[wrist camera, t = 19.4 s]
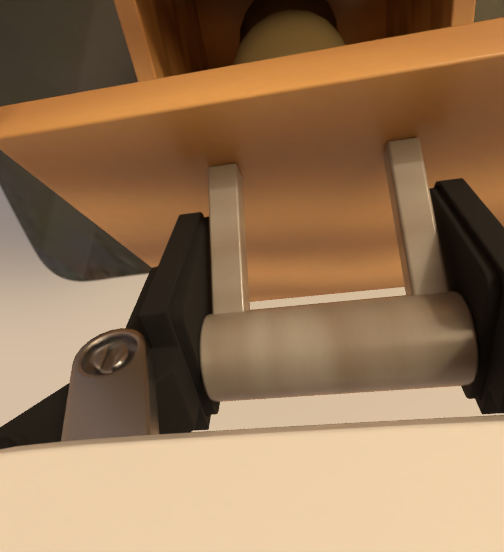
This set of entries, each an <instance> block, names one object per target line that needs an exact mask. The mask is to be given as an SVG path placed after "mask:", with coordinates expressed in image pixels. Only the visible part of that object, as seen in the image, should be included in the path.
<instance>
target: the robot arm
mask: <svg viewBox="0 0 504 552" xmlns="http://www.w3.org/2000/svg"><path fill="white" fill-rule="evenodd" d="M429 190H430V195H431V200H432V205H433V210H434V215H435V220H436V225H437V231H438V236H439V241H440V246H441V251H442V256H443V261H444V266H445V271H446V276H447V281H448V286H449V291H455V292H458V293H460V294H461V295H462V297H463V298H464V299H465V301H466V303H467V305H468V307H469V309H470V312H471V315H472V318H473V321H474V325H475V329H476V334H477V341H478V352H479V362H478V371H477V376H476V379H475V380H474V382H473V383H471V384H469V385H466V386H462V389H463V391H464V393H465V395H466V397H467V398H469V399H472V398H475V399H476V401H477V404H478V406H479V408H480V411H481V413H482V414H494V413H504V227H503V226H502V224H501V223H500V222H499V221H498V220H497V218H496V217H495V216H494V215H493V214H492V212H491V211H490V210H489V209H488V208H487V206H486V205H485V204H484V203H483V202H482V200H481V199H480V198H479V197H478V196H477V194H476V193H475V192H474V191H473V190H472V188H471V187H470V186H469V185H468V184H467V182H466V181H465V180H464V179H463V178H458V179H450V180H442V181H436V183H435V185H434V188H429ZM209 314H212V287H211V256H210V226H209V217H204V215H203V213H202V212H196V213H188V214H180V215H179V217H178V219H177V221H176V224H175V226H174V229H173V231H172V233H171V236H170V238H169V241H168V243H167V246H166V248H165V250H164V253H163V255H162V258H161V260H160V263H159V265H158V266H156V267H153V268H152V269H151V271H150V273H149V275H148V277H147V280H146V282H145V284H144V287H143V289H142V291H141V293H140V296H139V298H138V300H137V303H136V305H135V307H134V310H133V312H132V314H131V317H130V319H129V322H128V324H127V326H126V328H125V329H122V328H121V329H116V330H110V331H108V332H105V333H103V334H100V335H98V336H96V337H95V338H93V339H91V340H90V341H89V342H87V344H85V345H84V346H83V347H82V348H81V349H80V350H79V352H78V353H77V355H76V356H75V359H74V361H73V365H72V371H71V378H70V383H69V384H67V385H66V386H64V387H63V388H61V389H59V390H58V391H56V392H55V393H53V394H52V395H50V396H48V397H47V398H45V399H44V400H42V401H41V402H39V403H38V404H36V405H34V406H33V407H32V408H30V409H28V410H27V411H25V412H24V413H22V414H21V415H19V416H17V417H16V418H14V419H13V420H11V421H9V422H8V423H6V424H5V425H3V426H2V427H0V552H504V415H494V416H474V417H455V418H434V419H417V420H399V421H381V422H363V423H362V422H361V423H344V424H326V425H308V426H290V427H274V428H273V427H272V428H255V429H240V430H223V431H207V432H191V431H193V430H208V429H209V423H210V417H211V414H217V413H218V410H219V405H220V402H215V401H212V400H210V399H209V397H208V395H207V393H206V391H205V388H204V385H203V381H202V376H201V369H200V358H199V341H200V331H201V326H202V322H203V320H204V318H205V317H206V316H207V315H209Z"/></svg>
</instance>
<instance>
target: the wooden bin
mask: <svg viewBox="0 0 504 552" xmlns="http://www.w3.org/2000/svg"><path fill="white" fill-rule="evenodd" d="M113 1H114V4H115V7H116V11H117V14H118V17H119V20H120V24H121V27H122V30H123V34H124V37H125V40H126V43H127V47H128V50H129V53H130V57H131V60H132V63H133V66H134V70H135V73H136V76H137V80H138V82H141V81H147V80H152V79H158V78H164V77H169V76H175V75H181V74H186V73H192V72H198V71H203V70H209V69H215V68H220V67H226V66H231V65H233V64H234V61H235V58H236V55H237V52H238V50H239V43H240V28H241V25H242V22H243V19H244V16H245V13H246V11H247V10H248V8H249V7H250V5H251V4H252V3H253V1H254V0H113ZM326 1H327V2H328V3H329V5H330V7H331V9H332V11H333V13H334V16H335V18H336V21H337V30H338V33H339V34H340V35H341V37H342V39H343V41H344V43H345V45H350V44H356V43H361V42H367V41H373V40H378V39H384V38H389V37H395V36H401V35H406V34H412V33H418V32H423V31H429V30H435V29H440V28H446V27H451V26H457V25H463V24H468V23H473V22H474V13H475V4H476V0H326Z"/></svg>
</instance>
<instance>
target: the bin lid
mask: <svg viewBox="0 0 504 552" xmlns="http://www.w3.org/2000/svg"><path fill="white" fill-rule="evenodd" d="M0 150H1V151H3V152H4V153H5V154H6V155H8V156H9V157H10V158H12V159H13V160H14V161H15V162H17V163H18V164H19V165H21V166H22V167H23V168H24V169H26V170H27V171H28V172H30V173H31V174H32V175H33V176H35V177H36V178H37V179H39V180H40V181H41V182H42V183H44V184H45V185H46V186H48V187H49V188H50V189H51V190H53V191H54V192H55V193H57V194H58V195H59V196H60V197H62V198H63V199H64V200H66V201H67V202H68V203H69V204H71V205H72V206H73V207H75V208H76V209H77V210H78V211H80V212H81V213H82V214H84V215H85V216H86V217H87V218H89V219H90V220H91V221H93V222H94V223H95V224H96V225H98V226H99V227H100V228H102V229H103V230H104V231H105V232H107V233H108V234H109V235H111V236H112V237H113V238H114V239H116V240H117V241H118V242H120V243H121V244H122V245H123V246H125V247H126V248H127V249H129V250H130V251H131V252H132V253H134V254H135V255H136V256H138V257H139V258H140V259H141V260H143V261H144V262H145V263H147V264H148V265H149V266H150V267H152V268H153V267H156V266H158V265H159V263H160V260H161V258H162V255H163V253H164V250H165V248H166V246H167V243H168V241H169V238H170V236H171V233H172V231H173V229H174V226H175V224H176V221H177V219H178V217H179V215H180V214H188V213H196V212H202V213H203V215H204V217H209V226H210V256H211V287H212V314H209V315H207V316H206V317H205V318H204V320H203V322H202V326H201V331H200V341H199V358H200V369H201V376H202V381H203V385H204V388H205V391H206V393H207V395H208V397H209V399H210V400H212V401H215V402H220V401H233V400H234V401H235V400H250V399H266V398H281V397H297V396H312V395H327V394H342V393H356V392H357V393H358V392H374V391H389V390H404V389H420V388H434V387H450V386H466V385H469V384H471V383H473V382H474V380H475V379H476V376H477V371H478V362H479V352H478V341H477V334H476V329H475V325H474V321H473V318H472V315H471V312H470V309H469V307H468V305H467V303H466V301H465V299H464V298H463V297H462V295H461V294H460V293H458V292H455V291H449V286H448V281H447V276H446V271H445V266H444V261H443V256H442V251H441V246H440V241H439V236H438V231H437V225H436V220H435V215H434V210H433V205H432V200H431V195H430V190H429V188H434V185H435V183H436V181H442V180H450V179H458V178H463V179H464V180H465V181H466V182H467V184H468V185H469V186H470V187H471V188H472V190H473V191H474V192H475V193H476V194H477V196H478V197H479V198H480V199H481V200H482V202H483V203H484V204H485V205H486V206H487V208H488V209H489V210H490V211H491V212H492V214H493V215H494V216H495V217H496V218H497V220H498V221H499V222H500V223H501V224H502V226H503V227H504V17H502V18H497V19H491V20H485V21H480V22H474V23H468V24H463V25H457V26H451V27H446V28H440V29H435V30H429V31H423V32H418V33H412V34H406V35H401V36H395V37H389V38H384V39H378V40H373V41H367V42H361V43H356V44H350V45H344V46H339V47H333V48H327V49H322V50H316V51H310V52H305V53H299V54H294V55H288V56H282V57H277V58H271V59H265V60H260V61H254V62H248V63H243V64H237V65H231V66H226V67H220V68H215V69H209V70H203V71H198V72H192V73H186V74H181V75H175V76H169V77H164V78H158V79H152V80H147V81H141V82H136V83H130V84H124V85H119V86H113V87H107V88H102V89H96V90H90V91H85V92H79V93H74V94H68V95H62V96H57V97H51V98H45V99H40V100H34V101H28V102H23V103H17V104H11V105H6V106H0ZM395 287H405V291H406V295H404V296H393V297H383V298H372V299H361V300H351V301H341V302H330V303H319V304H309V305H298V306H288V307H277V308H267V309H257V310H250V303H249V302H253V301H262V300H272V299H283V298H293V297H304V296H314V295H324V294H335V293H345V292H355V291H365V290H375V289H385V288H395Z"/></svg>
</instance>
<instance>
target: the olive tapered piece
mask: <svg viewBox="0 0 504 552" xmlns="http://www.w3.org/2000/svg"><path fill="white" fill-rule="evenodd" d="M344 45H345V43H344V41H343V39H342V37H341V35H340V34H339V33H338V30H337V21H336V18H335V16H334V13H333V11H332V9H331V7H330V5H329V3H328V2H327V1H326V0H254V1H253V3H252V4H251V5H250V7H249V8H248V10H247V11H246V13H245V16H244V19H243V22H242V25H241V28H240V43H239V50H238V52H237V55H236V58H235V61H234V64H233V65H237V64H243V63H248V62H254V61H260V60H265V59H271V58H277V57H282V56H288V55H294V54H299V53H305V52H310V51H316V50H322V49H327V48H333V47H339V46H344Z"/></svg>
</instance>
